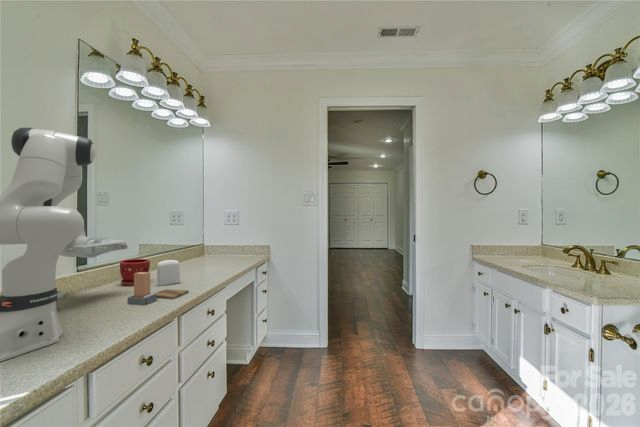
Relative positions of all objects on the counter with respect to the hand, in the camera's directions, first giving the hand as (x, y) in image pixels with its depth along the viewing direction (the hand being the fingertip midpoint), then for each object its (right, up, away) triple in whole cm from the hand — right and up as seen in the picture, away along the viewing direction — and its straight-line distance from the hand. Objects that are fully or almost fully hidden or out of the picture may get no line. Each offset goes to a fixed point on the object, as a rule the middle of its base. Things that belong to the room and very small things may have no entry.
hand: (116, 248), depth 124 cm
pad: (+18, -22, +8) cm, 29 cm away
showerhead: (-17, -22, -14) cm, 31 cm away
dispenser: (+12, -22, -2) cm, 25 cm away
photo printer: (+8, -22, +27) cm, 36 cm away
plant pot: (-10, -22, +29) cm, 38 cm away
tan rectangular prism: (+12, -22, -2) cm, 25 cm away
